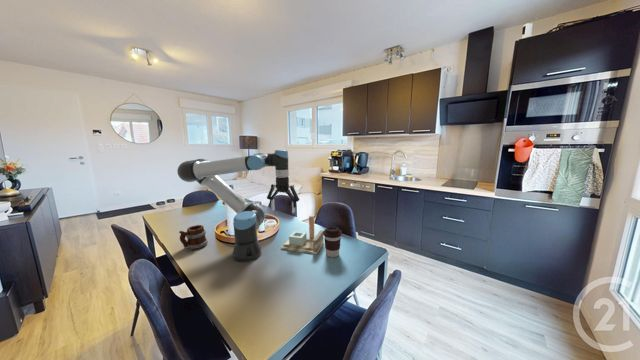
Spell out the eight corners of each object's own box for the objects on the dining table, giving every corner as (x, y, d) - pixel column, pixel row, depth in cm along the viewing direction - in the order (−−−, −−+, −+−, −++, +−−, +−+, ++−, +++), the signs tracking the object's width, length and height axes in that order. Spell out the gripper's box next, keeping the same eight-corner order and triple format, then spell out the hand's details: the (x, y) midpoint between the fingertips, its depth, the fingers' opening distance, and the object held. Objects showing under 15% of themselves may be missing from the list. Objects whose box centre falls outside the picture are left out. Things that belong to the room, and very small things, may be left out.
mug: (213, 243, 135) (207, 221, 130) (192, 257, 123) (184, 234, 119) (202, 239, 141) (195, 218, 136) (180, 252, 129) (172, 230, 124)
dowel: (308, 239, 139) (308, 217, 137) (310, 237, 142) (309, 215, 140) (313, 239, 138) (313, 217, 136) (315, 237, 141) (314, 215, 139)
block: (289, 245, 129) (288, 236, 128) (294, 239, 136) (294, 231, 135) (301, 246, 126) (301, 238, 125) (306, 240, 134) (306, 232, 133)
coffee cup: (340, 259, 115) (340, 233, 112) (322, 258, 117) (321, 231, 114) (342, 250, 124) (342, 226, 122) (325, 249, 126) (325, 224, 124)
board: (280, 249, 127) (280, 235, 126) (290, 238, 140) (290, 226, 139) (316, 254, 121) (316, 240, 119) (323, 243, 134) (323, 230, 133)
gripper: (259, 176, 127) (261, 211, 130) (299, 178, 119) (300, 215, 123) (266, 174, 134) (268, 207, 137) (304, 176, 126) (304, 211, 130)
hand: (283, 211), depth 130 cm, fingers open, 13 cm apart
